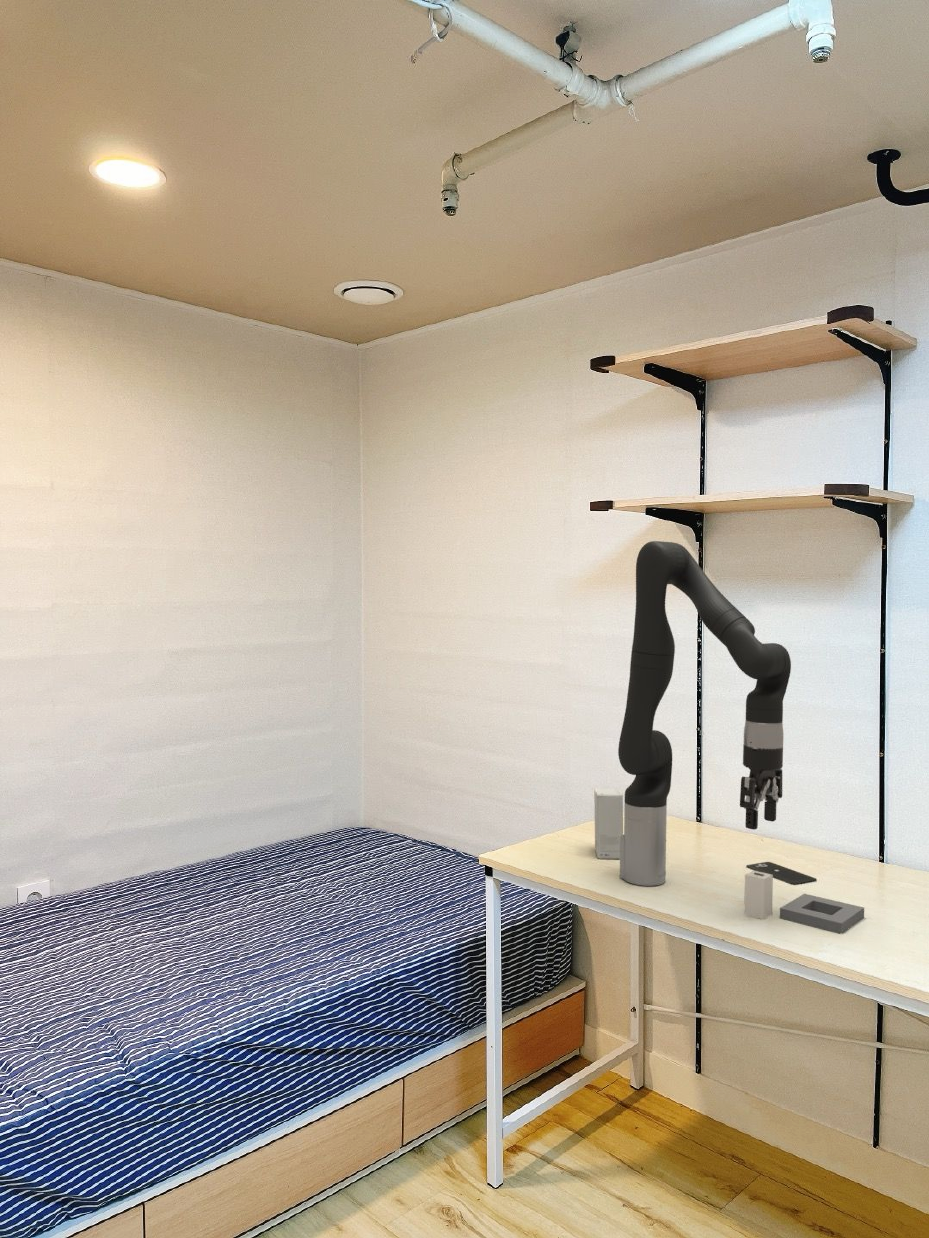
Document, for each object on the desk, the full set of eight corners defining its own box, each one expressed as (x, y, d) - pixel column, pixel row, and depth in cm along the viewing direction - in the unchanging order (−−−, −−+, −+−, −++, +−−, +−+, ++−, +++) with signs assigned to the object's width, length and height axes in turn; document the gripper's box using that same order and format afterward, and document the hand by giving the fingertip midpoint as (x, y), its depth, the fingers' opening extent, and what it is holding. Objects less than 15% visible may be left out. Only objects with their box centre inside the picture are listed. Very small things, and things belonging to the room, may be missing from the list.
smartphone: (768, 864, 216) (768, 860, 216) (818, 882, 203) (818, 878, 203) (744, 868, 213) (744, 865, 213) (793, 887, 199) (793, 883, 199)
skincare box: (623, 859, 217) (624, 795, 217) (595, 859, 218) (596, 794, 217) (619, 850, 226) (620, 787, 225) (593, 849, 226) (593, 787, 226)
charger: (744, 914, 181) (744, 873, 181) (753, 909, 184) (753, 869, 183) (763, 919, 178) (764, 878, 178) (772, 914, 181) (772, 873, 181)
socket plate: (779, 917, 179) (779, 907, 179) (804, 903, 188) (804, 893, 188) (841, 933, 171) (841, 923, 171) (864, 917, 180) (864, 907, 180)
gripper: (760, 737, 188) (758, 814, 188) (729, 745, 177) (726, 827, 178) (796, 742, 183) (793, 821, 183) (766, 750, 172) (763, 835, 173)
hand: (760, 824), depth 180 cm, fingers open, 8 cm apart
